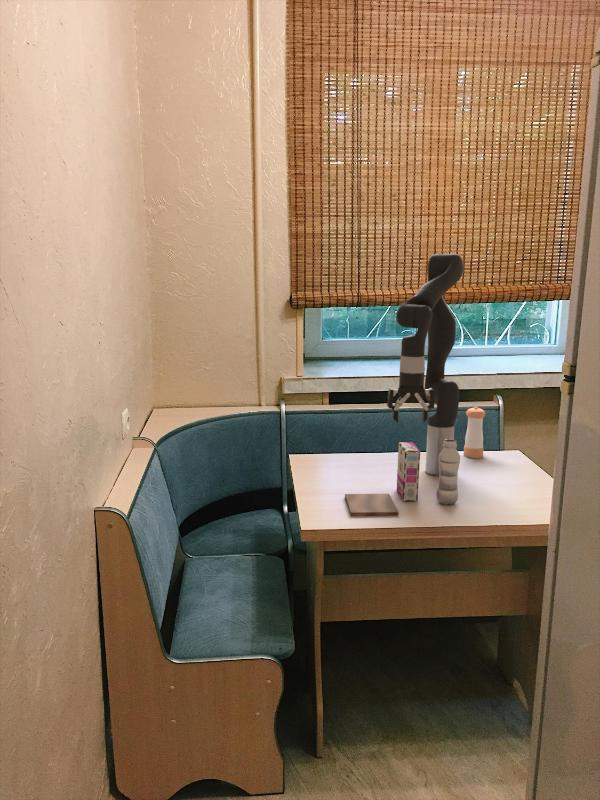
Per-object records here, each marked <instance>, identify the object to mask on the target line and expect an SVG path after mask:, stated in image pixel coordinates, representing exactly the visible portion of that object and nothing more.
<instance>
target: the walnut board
mask: <svg viewBox="0 0 600 800" xmlns="http://www.w3.org/2000/svg"><path fill="white" fill-rule="evenodd" d="M344 499H345V502H346V506H347V509H348V512H349V515H350V517H397V516H398V517H399V510H398V508H397V507H396V504H395V502H394V500H393V498H392V496H391V495H390V493H345V494H344Z"/></svg>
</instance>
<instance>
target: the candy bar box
mask: <svg viewBox="0 0 600 800" xmlns="http://www.w3.org/2000/svg"><path fill="white" fill-rule="evenodd" d="M420 460H421V451H420V449H419V448H418V447H417V446H416V445H415V443H414V442H413V441H405V442H403V441H402V442H401V441H400V442H398V450H397V473H396V492H397V493H398V495H399V497H400V499H401V501H402V502H406V503H407V502H409V503H410V502H414V503H415V502H418V500H419V498H418V497H419V481H420V480H419V479H420V478H419V477H420V464H421V463H420V462H421V461H420Z"/></svg>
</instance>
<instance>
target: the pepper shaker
mask: <svg viewBox="0 0 600 800" xmlns="http://www.w3.org/2000/svg"><path fill="white" fill-rule="evenodd" d="M465 414H466V417H467V426H466V427H467V429H466V432H465V437H464V440H465V442H464V443H465V444H464V446H463V456H464V457H466V458H469V457H471V459H481V458H483V457H484V431H483V425H484V424H483V422H484V418H485V416H486V411H485V410H484V409H482V408H479V407H478V406H474V407H471V408H468V409H467V410H466V413H465Z"/></svg>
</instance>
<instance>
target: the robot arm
mask: <svg viewBox="0 0 600 800" xmlns="http://www.w3.org/2000/svg"><path fill="white" fill-rule="evenodd" d="M464 266H465V265H464V259H463V257H462V256H461V255H459V254H457V253H434V254H431V255H430V257H429V259H428V262H427V281H426V283H424V284H423V285H421V286H420V288H419V289H418V291H417V292H416V293H415V295H414V296H412V297H411V298H409V299H408V300H406V301H404V302H403V303H402V304H401V305H400V306H399V308H398V309H397V311H396V316H395V317H396V322H397V324H398V325H399V326H400V327H401V328H406V329H407V328H409V329H417V330H416V333H415V334H411V335H406V336H403V337H402V339H401V349H400V351H401V353H400V354H401V355H400V361H399V380H398V383H399V384H398V388H397V389H394V388H391V387H390V388H389V389H388V393H387V403H386V406H387V407H388V408H387V409H391V410H392V420H393V421H394V422H395V423H399V409H400V408H401V406H403V405H404V403H405V404H411V403H413V404H417V403H419V404H420V406H421V407H422V410H421V422H422V423H426V422H427V430H426V431H427V432H426V453H425V472H426V473H427V474H428V475H432V476H438V477H439V474H440V473H439V454H440V453H441V451H442V450H443V449H444V446H443V444H444V440H446V439H453V440H455V424H456V420H457V418H458V413H459V404H460V388H459V385H458V384H457V383H456V382H455V381H453V380H450V379H445V367H446V362H447V359H448V357H449V356H450V353H451V352H452V350H453V348H454V346H455V342H456V333H457V331H456V330H457V325H456V324H457V322H456V319H455V316H454V314H453V313H452V310H451V309H450V308H449V306H448V304H447V302H446V300H445V298H444V296H443V295H445V294H446V292H448V291H449V290H450V289H452V288H453V286H454V285H456V284H457V283H458V282H459V281H460V280H461V278H462V276H463V274H464V270H465V269H464ZM426 341H427V359H426V360H427V362H425V349H426V346H425V345H426ZM426 363H427V364H426ZM425 365H426V366H425ZM425 370H426V373H425ZM397 394H398V396H399V397H398V399H397V400H396V402H395V403H394V397H395V396H396V395H397ZM423 397H425V398H426V400H427V402H428V404H426V402H425V401H424V400H423ZM393 403H394V404H393ZM435 405H436V410H435V413H432V414H430V415H429V410H431V409H435ZM428 415H429V416H428Z"/></svg>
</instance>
